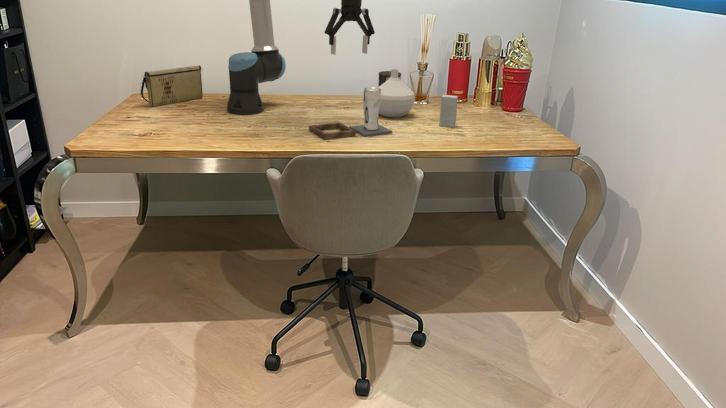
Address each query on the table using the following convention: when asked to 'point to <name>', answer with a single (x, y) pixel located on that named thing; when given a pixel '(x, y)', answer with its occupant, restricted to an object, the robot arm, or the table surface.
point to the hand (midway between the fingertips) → (349, 53)
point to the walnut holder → (332, 135)
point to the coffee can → (385, 77)
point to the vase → (395, 97)
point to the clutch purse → (172, 85)
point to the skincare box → (448, 111)
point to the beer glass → (371, 108)
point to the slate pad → (367, 133)
